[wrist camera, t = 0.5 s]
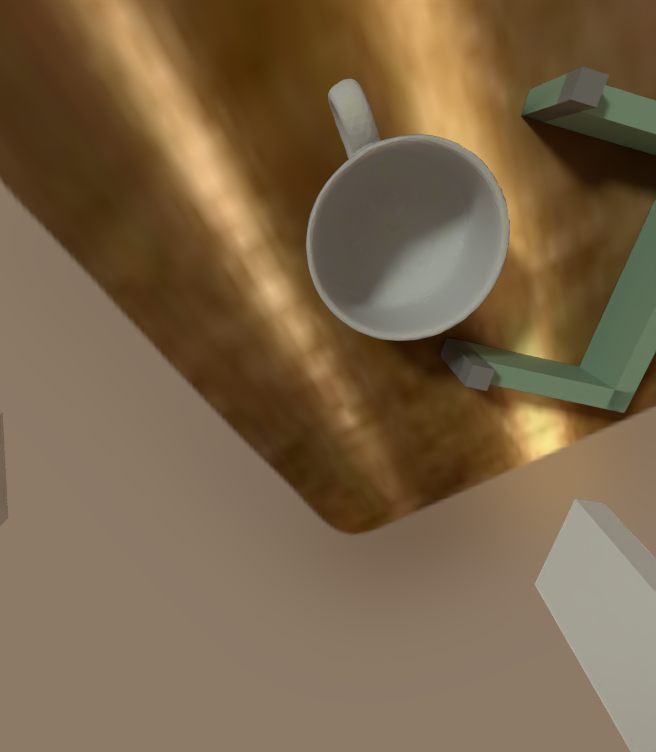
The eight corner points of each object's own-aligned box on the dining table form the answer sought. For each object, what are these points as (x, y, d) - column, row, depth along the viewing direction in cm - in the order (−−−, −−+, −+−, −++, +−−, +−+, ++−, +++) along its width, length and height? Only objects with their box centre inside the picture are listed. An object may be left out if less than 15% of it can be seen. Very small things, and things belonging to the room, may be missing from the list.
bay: (529, 89, 30) (582, 66, 24) (703, 141, 31) (790, 131, 26) (439, 355, 36) (464, 386, 30) (588, 388, 38) (638, 422, 32)
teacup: (473, 289, 34) (520, 316, 27) (327, 327, 35) (334, 364, 27) (442, 69, 29) (490, 28, 22) (272, 117, 30) (262, 93, 22)
